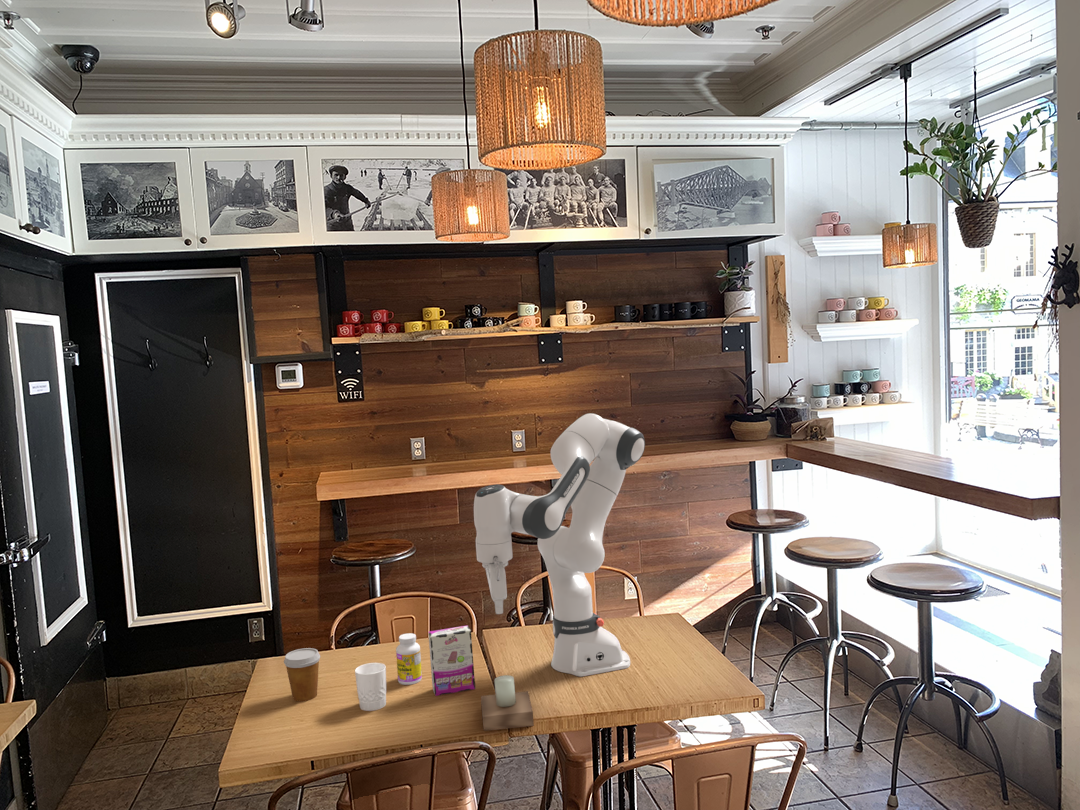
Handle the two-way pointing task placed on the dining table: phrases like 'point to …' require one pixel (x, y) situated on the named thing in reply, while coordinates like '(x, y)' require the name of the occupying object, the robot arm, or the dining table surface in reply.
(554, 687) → the dining table surface
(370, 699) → the white cup
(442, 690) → the candy bar box
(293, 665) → the disposable coffee cup
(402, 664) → the supplement bottle
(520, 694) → the walnut block
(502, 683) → the pale green rounded block
